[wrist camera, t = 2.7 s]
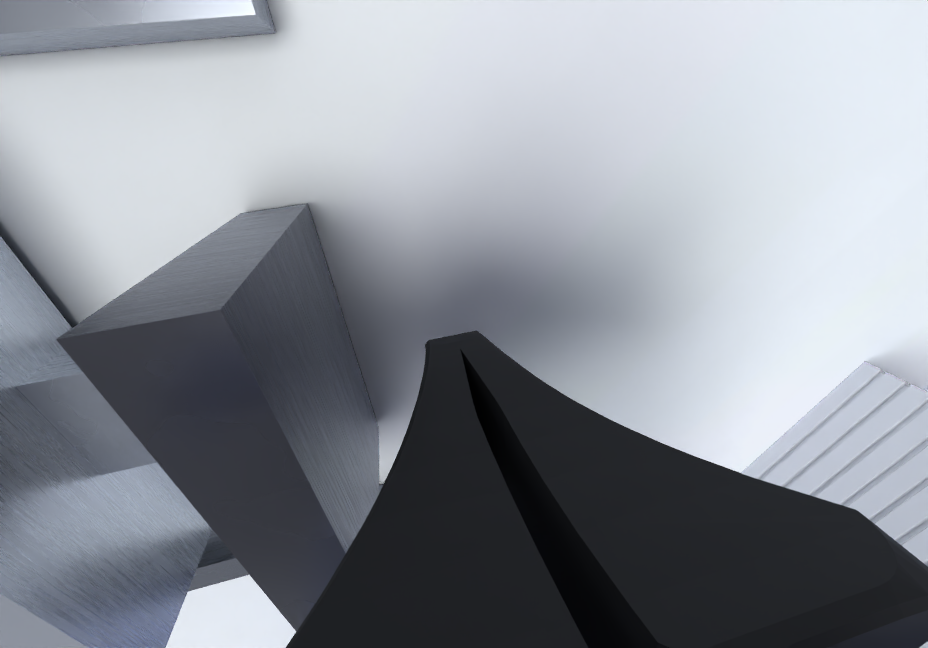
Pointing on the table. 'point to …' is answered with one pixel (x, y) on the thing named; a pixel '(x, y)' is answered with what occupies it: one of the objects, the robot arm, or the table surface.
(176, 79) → the table surface
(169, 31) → the vise
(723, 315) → the table surface
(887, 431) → the white ridged block
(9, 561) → the vise jaw
